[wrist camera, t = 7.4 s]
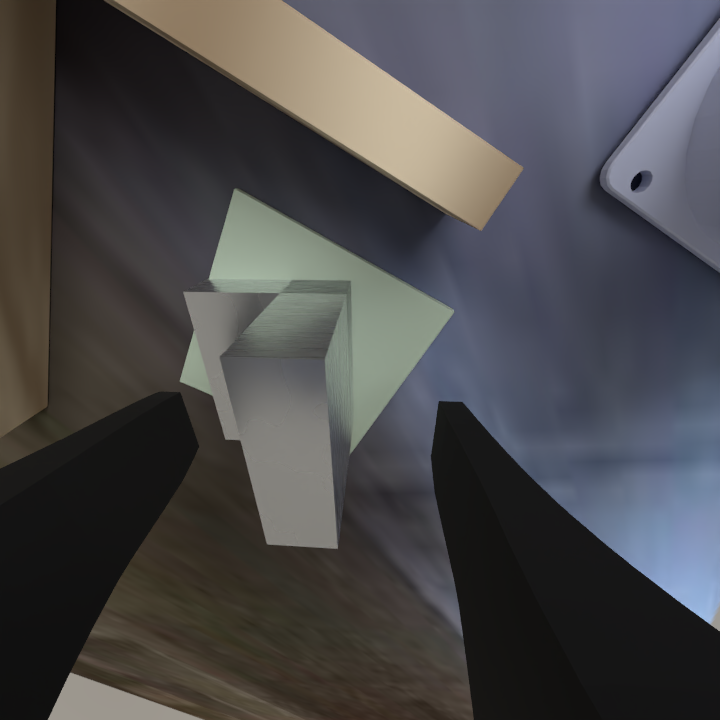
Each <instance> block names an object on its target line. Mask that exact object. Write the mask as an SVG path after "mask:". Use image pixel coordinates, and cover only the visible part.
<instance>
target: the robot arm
mask: <svg viewBox="0 0 720 720" xmlns="http://www.w3.org/2000/svg"><path fill="white" fill-rule="evenodd" d="M639 172H640V173H641V175H642V182H641V183H640V185H639V187H638V188H636V189H635V190H634V191H632V189H631V188H630V187H631V181H632V179H633V178H634V176H635V175H636V174H638V173H639ZM600 184H601V186H602V188H603V189H604V190H605V191H606V192H608V193H609V194H611V195H612V196H613V197H615V198H616V199H618V200H619V201H620V202H622V203H623V204H624V205H626V206H627V207H629V208H630V209H631V210H633V211H634V212H636V213H637V214H638V215H640V216H641V217H643V218H644V219H645V220H647V221H648V222H650V223H651V224H652V225H654V226H655V227H657V228H658V229H659V230H661V231H662V232H663V233H665V234H666V235H668V236H669V237H670V238H672V239H673V240H675V241H676V242H677V243H679V244H680V245H682V246H683V247H684V248H686V249H687V250H689V251H690V252H691V253H693V254H694V255H696V256H697V257H698V258H700V259H701V260H702V261H704V262H705V263H707V264H708V265H709V266H711V267H712V268H714V269H715V270H716V271H718V272H719V273H720V19H719V20H718V21H717V22H716V24H715V25H714V26H713V27H712V29H711V30H710V31H709V32H708V34H707V35H706V36H705V38H704V39H703V40H702V41H701V43H700V44H699V45H698V46H697V48H696V49H695V50H694V51H693V53H692V54H691V55H690V56H689V58H688V59H687V60H686V62H685V63H684V64H683V65H682V67H681V68H680V69H679V70H678V72H677V73H676V74H675V75H674V77H673V78H672V79H671V81H670V82H669V83H668V84H667V86H666V87H665V88H664V89H663V91H662V92H661V93H660V94H659V96H658V97H657V98H656V100H655V101H654V102H653V103H652V105H651V106H650V107H649V108H648V110H647V111H646V112H645V113H644V115H643V116H642V117H641V119H640V120H639V121H638V122H637V124H636V125H635V126H634V127H633V129H632V130H631V131H630V132H629V134H628V135H627V136H626V137H625V139H624V140H623V141H622V143H621V144H620V145H619V146H618V148H617V149H616V150H615V151H614V153H613V154H612V155H611V156H610V158H609V159H608V160H607V162H606V163H605V165H604V166H603V168H602V170H601V174H600ZM198 448H199V445H198V442H197V439H196V436H195V433H194V430H193V427H192V424H191V422H190V419H189V416H188V413H187V410H186V407H185V404H184V402H183V399H182V396H181V393H180V392H158V393H155V394H153V395H150V396H148V397H146V398H144V399H142V400H139V401H137V402H135V403H133V404H131V405H129V406H127V407H125V408H123V409H121V410H119V411H117V412H115V413H113V414H111V415H109V416H107V417H105V418H103V419H101V420H99V421H97V422H95V423H93V424H91V425H89V426H87V427H85V428H83V429H81V430H79V431H77V432H75V433H74V434H72V435H70V436H68V437H66V438H64V439H62V440H59V441H57V442H55V443H53V444H51V445H49V446H47V447H45V448H43V449H41V450H39V451H36V452H34V453H32V454H30V455H28V456H26V457H24V458H22V459H20V460H18V461H16V462H14V463H11V464H9V465H7V466H5V467H3V468H1V469H0V720H48V718H49V716H50V714H51V712H52V709H53V707H54V705H55V703H56V701H57V699H58V697H59V694H60V692H61V690H62V688H63V686H64V684H65V682H66V680H67V678H68V675H69V674H70V672H71V670H72V668H73V666H74V664H75V662H76V660H77V658H78V656H79V654H80V652H81V650H82V648H83V646H84V644H85V642H86V640H87V638H88V636H89V634H90V632H91V630H92V628H93V626H94V624H95V622H96V621H97V619H98V617H99V615H100V613H101V611H102V610H103V608H104V606H105V604H106V602H107V600H108V598H109V597H110V595H111V593H112V591H113V589H114V587H115V586H116V584H117V582H118V580H119V578H120V577H121V575H122V573H123V572H124V570H125V569H126V567H127V565H128V564H129V562H130V560H131V559H132V557H133V556H134V554H135V553H136V551H137V550H138V548H139V547H140V545H141V544H142V542H143V541H144V539H145V538H146V536H147V535H148V533H149V531H150V530H151V528H152V527H153V525H154V524H155V522H156V521H157V519H158V518H159V516H160V515H161V513H162V512H163V510H164V509H165V507H166V506H167V504H168V503H169V501H170V499H171V498H172V496H173V495H174V493H175V492H176V490H177V489H178V487H179V485H180V484H181V482H182V481H183V479H184V477H185V475H186V473H187V471H188V469H189V467H190V465H191V463H192V461H193V459H194V456H195V454H196V452H197V450H198ZM431 461H432V471H433V481H434V489H435V496H436V500H437V505H438V509H439V514H440V519H441V523H442V528H443V532H444V537H445V541H446V546H447V550H448V555H449V559H450V563H451V568H452V572H453V577H454V581H455V587H456V592H457V597H458V603H459V609H460V616H461V624H462V631H463V638H464V645H465V653H466V660H467V668H468V676H469V684H470V692H471V700H472V707H473V715H474V720H720V631H718V630H717V629H715V628H714V627H713V626H711V625H710V624H709V623H707V622H706V621H704V620H703V619H702V618H700V617H699V616H698V615H696V614H695V613H694V612H692V611H691V610H689V609H688V608H687V607H685V606H684V605H683V604H681V603H680V602H679V601H677V600H676V599H675V598H673V597H672V596H671V595H669V594H668V593H667V592H666V591H664V590H663V589H662V588H660V587H659V586H658V585H656V584H655V583H654V582H653V581H651V580H650V579H649V578H647V577H646V576H645V575H643V574H642V573H641V572H639V571H638V570H637V569H636V568H634V567H633V566H632V565H630V564H629V563H628V562H627V561H625V560H624V559H623V558H622V557H620V556H619V555H618V554H617V553H615V552H614V551H613V550H612V549H611V548H609V547H608V546H607V545H606V544H604V543H603V542H602V541H601V540H600V539H599V538H597V537H596V536H595V535H594V534H593V533H592V532H590V531H589V530H588V529H587V528H586V527H585V526H583V525H582V524H581V523H580V522H579V521H577V520H576V519H575V518H574V517H573V516H572V515H570V514H569V513H568V512H567V511H566V510H565V509H564V508H563V507H562V506H560V505H559V504H558V503H557V502H556V501H555V500H554V499H553V498H552V497H551V496H550V495H549V494H548V493H547V492H546V491H545V490H543V489H542V488H541V487H540V486H539V485H538V484H537V483H536V482H535V481H534V480H533V479H532V478H531V477H530V476H529V475H528V474H527V473H526V472H525V471H524V470H523V469H522V468H521V467H520V466H519V465H518V464H517V463H516V462H515V460H514V459H513V458H512V457H511V456H510V455H509V454H508V453H507V452H506V451H505V450H504V449H503V448H502V447H501V446H500V444H499V443H498V442H497V441H496V440H495V439H494V438H493V437H492V436H491V434H490V433H489V432H488V431H487V430H486V429H485V428H484V426H483V425H482V424H481V423H480V422H479V421H478V420H477V418H476V417H475V416H474V415H473V414H472V413H471V411H470V410H469V409H468V408H467V407H466V406H465V405H464V404H463V402H447V401H439V404H438V411H437V418H436V425H435V432H434V439H433V447H432V454H431Z"/></svg>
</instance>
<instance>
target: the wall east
mask: <svg viewBox="0 0 720 720" xmlns="http://www.w3.org/2000/svg"><path fill="white" fill-rule="evenodd" d="M55 28H56V0H0V438H1V437H2V436H4V435H5V434H7V433H8V432H10V431H11V430H13V429H14V428H16V427H17V426H19V425H20V424H22V423H23V422H25V421H26V420H28V419H29V418H31V417H32V416H34V415H35V414H37V413H38V412H40V411H41V410H43V409H44V408H46V407H47V406H48V363H49V315H50V267H51V220H52V172H53V124H54V76H55Z"/></svg>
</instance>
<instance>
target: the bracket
mask: <svg viewBox="0 0 720 720" xmlns="http://www.w3.org/2000/svg"><path fill="white" fill-rule="evenodd" d="M183 293H184V296H185V300H186V303H187V307H188V310H189V314H190V317H191V321H192V324H193V328H194V331H195V335H196V338H197V342H198V345H199V349H200V352H201V356H202V359H203V363H204V366H205V370H206V373H207V377H208V380H209V384H210V387H211V391H212V394H213V398H214V401H215V405H216V408H217V412H218V415H219V419H220V422H221V426H222V429H223V433H224V436H225V440H241V444H242V448H243V452H244V456H245V460H246V464H247V468H248V471H249V475H250V479H251V483H252V487H253V491H254V495H255V499H256V503H257V507H258V511H259V515H260V519H261V522H262V526H263V530H264V534H265V538H266V542H267V544H269V545H285V546H301V547H317V548H334V549H338V543H339V535H340V527H341V519H342V511H343V503H344V495H345V487H346V479H347V471H348V463H349V455H350V447H351V439H352V431H353V423H354V401H353V351H352V300H351V281H349V280H260V279H206V280H204V281H202V282H201V283H199V284H197V285H195V286H193V287H191V288H189V289H188V290H186V291H184V292H183Z"/></svg>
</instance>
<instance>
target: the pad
mask: <svg viewBox="0 0 720 720" xmlns="http://www.w3.org/2000/svg"><path fill="white" fill-rule="evenodd" d="M209 279H260V280H349V281H351V300H352V351H353V401H354V423H353V431H352V439H351V447H350V454H351V453H352V451H353V450H354V449H355V447H356V446H357V445H358V443H359V442H360V440H361V439H362V438H363V436H364V435H365V434H366V432H367V431H368V429H369V428H370V427H371V425H372V424H373V423H374V421H375V420H376V419H377V417H378V416H379V414H380V413H381V412H382V410H383V409H384V408H385V406H386V405H387V404H388V402H389V401H390V399H391V398H392V397H393V395H394V394H395V393H396V391H397V390H398V389H399V387H400V386H401V384H402V383H403V382H404V380H405V379H406V378H407V376H408V375H409V373H410V372H411V371H412V369H413V368H414V367H415V365H416V364H417V363H418V361H419V360H420V358H421V357H422V356H423V354H424V353H425V352H426V350H427V349H428V348H429V346H430V345H431V343H432V342H433V341H434V339H435V338H436V337H437V335H438V334H439V332H440V331H441V330H442V328H443V327H444V326H445V324H446V323H447V322H448V320H449V319H450V317H451V316H452V315H453V313H454V310H453V309H452V308H450V307H449V306H447V305H445V304H443V303H441V302H440V301H438V300H436V299H434V298H433V297H431V296H429V295H427V294H425V293H424V292H422V291H420V290H418V289H417V288H415V287H413V286H411V285H409V284H408V283H406V282H404V281H402V280H401V279H399V278H397V277H395V276H393V275H392V274H390V273H388V272H386V271H385V270H383V269H381V268H379V267H377V266H376V265H374V264H372V263H370V262H369V261H367V260H365V259H363V258H361V257H360V256H358V255H356V254H354V253H353V252H351V251H349V250H347V249H345V248H344V247H342V246H340V245H338V244H336V243H335V242H333V241H331V240H329V239H328V238H326V237H324V236H322V235H320V234H319V233H317V232H315V231H313V230H312V229H310V228H308V227H306V226H304V225H303V224H301V223H299V222H297V221H296V220H294V219H292V218H290V217H288V216H287V215H285V214H283V213H281V212H280V211H278V210H276V209H274V208H272V207H271V206H269V205H267V204H265V203H264V202H262V201H260V200H258V199H256V198H255V197H253V196H251V195H249V194H248V193H246V192H244V191H242V190H240V189H239V188H236V189H234V192H233V196H232V199H231V203H230V206H229V210H228V213H227V217H226V220H225V224H224V227H223V231H222V234H221V238H220V241H219V245H218V248H217V252H216V255H215V259H214V262H213V266H212V270H211V273H210V277H209ZM180 382H182V383H185V384H187V385H189V386H192V387H194V388H196V389H199V390H201V391H203V392H205V393H208V394H210V395H212V396H213V394H212V391H211V387H210V384H209V380H208V377H207V373H206V370H205V366H204V363H203V359H202V356H201V352H200V349H199V345H198V342H197V338H196V335H195V331H194V333H193V336H192V340H191V343H190V347H189V351H188V354H187V358H186V361H185V365H184V368H183V372H182V375H181V379H180Z"/></svg>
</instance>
